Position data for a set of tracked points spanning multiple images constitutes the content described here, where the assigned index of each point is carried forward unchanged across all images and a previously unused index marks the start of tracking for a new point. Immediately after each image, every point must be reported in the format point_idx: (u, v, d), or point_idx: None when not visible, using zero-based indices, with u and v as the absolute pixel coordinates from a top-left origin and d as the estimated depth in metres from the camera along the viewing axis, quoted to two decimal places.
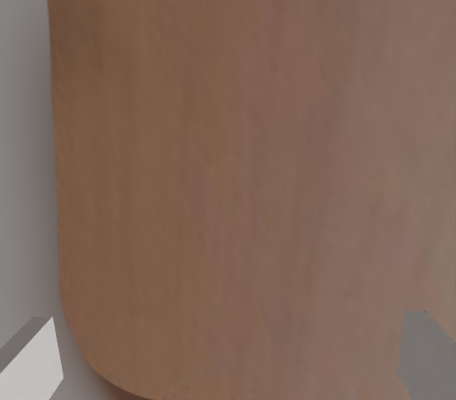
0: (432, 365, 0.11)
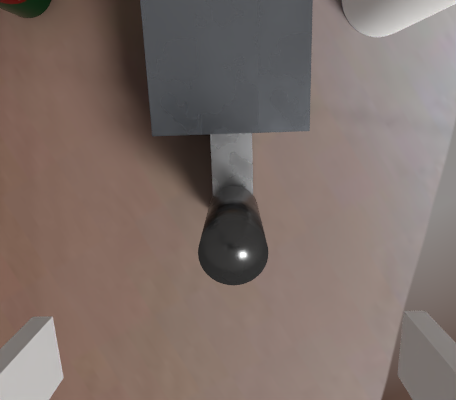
0: (432, 364, 0.11)
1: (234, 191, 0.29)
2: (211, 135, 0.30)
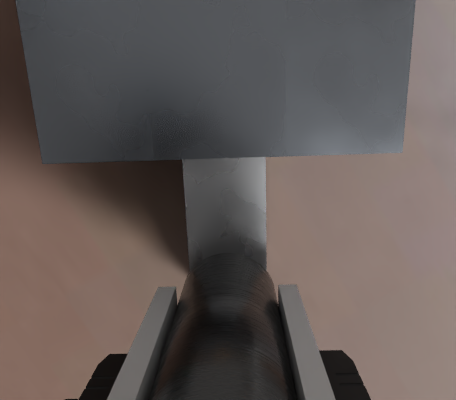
0: (284, 325, 0.13)
1: (229, 275, 0.14)
2: None
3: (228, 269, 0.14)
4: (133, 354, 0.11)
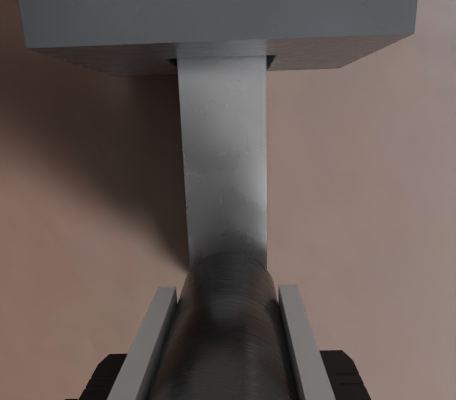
0: (284, 325, 0.13)
1: (229, 273, 0.14)
2: (185, 155, 0.15)
3: (228, 267, 0.14)
4: (133, 354, 0.11)
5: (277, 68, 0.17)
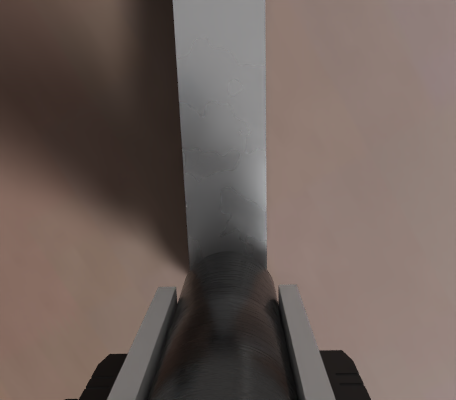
0: (284, 325, 0.13)
1: (229, 273, 0.14)
2: (185, 155, 0.15)
3: (228, 267, 0.14)
4: (133, 354, 0.11)
5: None
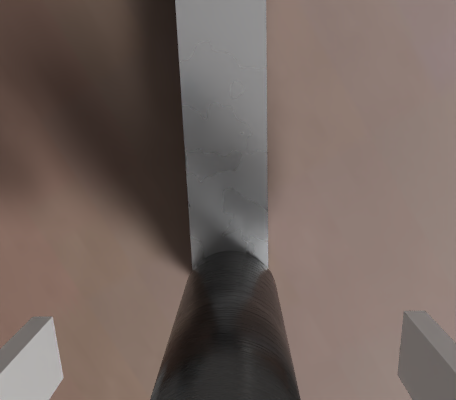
0: (432, 365, 0.11)
1: (231, 272, 0.14)
2: (187, 156, 0.15)
3: (230, 266, 0.15)
4: None
5: None
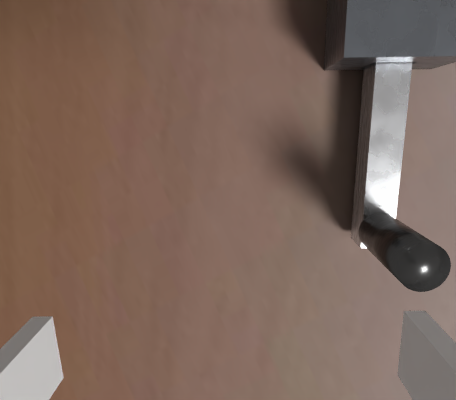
0: (431, 364, 0.11)
1: (390, 218, 0.36)
2: (368, 172, 0.37)
3: (387, 216, 0.37)
4: None
5: None
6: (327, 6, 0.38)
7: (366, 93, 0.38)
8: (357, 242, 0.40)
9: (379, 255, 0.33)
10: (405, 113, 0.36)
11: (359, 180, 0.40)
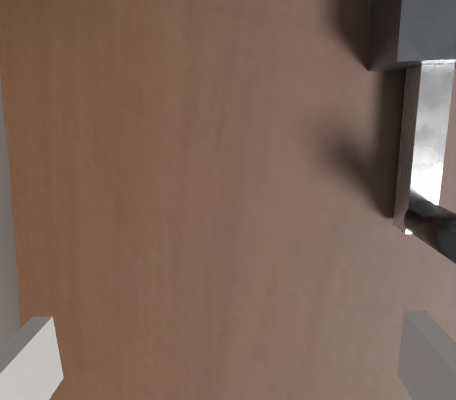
0: (432, 365, 0.11)
1: (435, 205, 0.40)
2: (413, 164, 0.41)
3: (432, 204, 0.40)
4: None
5: None
6: (372, 11, 0.41)
7: (410, 91, 0.41)
8: (401, 229, 0.44)
9: (430, 239, 0.37)
10: (448, 109, 0.39)
11: (403, 172, 0.43)
